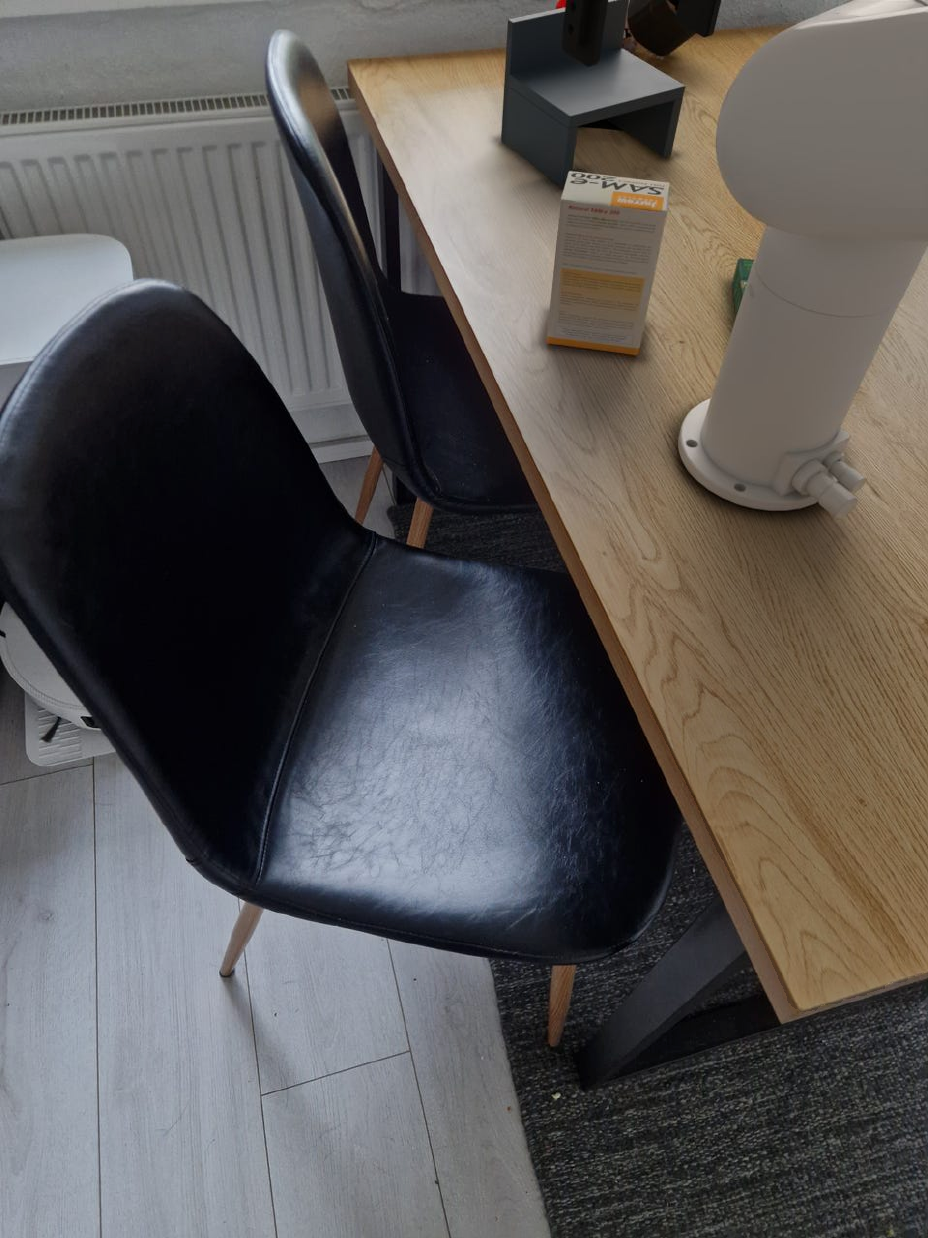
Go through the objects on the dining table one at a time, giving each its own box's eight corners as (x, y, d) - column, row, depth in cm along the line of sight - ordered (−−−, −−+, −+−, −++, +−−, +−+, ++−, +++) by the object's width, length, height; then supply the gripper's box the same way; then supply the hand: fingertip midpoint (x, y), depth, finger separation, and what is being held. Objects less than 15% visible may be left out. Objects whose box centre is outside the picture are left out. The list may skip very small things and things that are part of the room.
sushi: (720, -23, 109) (676, 13, 116) (669, -60, 105) (627, -20, 112) (709, 39, 108) (665, 72, 115) (657, 5, 104) (615, 41, 111)
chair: (671, 155, 98) (696, 33, 89) (561, 187, 94) (576, 63, 84) (606, 112, 104) (623, -6, 95) (500, 140, 100) (507, 19, 90)
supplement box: (641, 325, 79) (673, 180, 69) (637, 358, 76) (669, 211, 66) (551, 312, 80) (568, 166, 69) (543, 344, 77) (560, 197, 67)
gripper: (617, -315, 39) (566, 94, 53) (879, -332, 45) (772, 39, 59) (521, -343, 43) (497, 47, 57) (776, -356, 49) (698, 0, 63)
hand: (638, 43), depth 58 cm, fingers open, 9 cm apart
